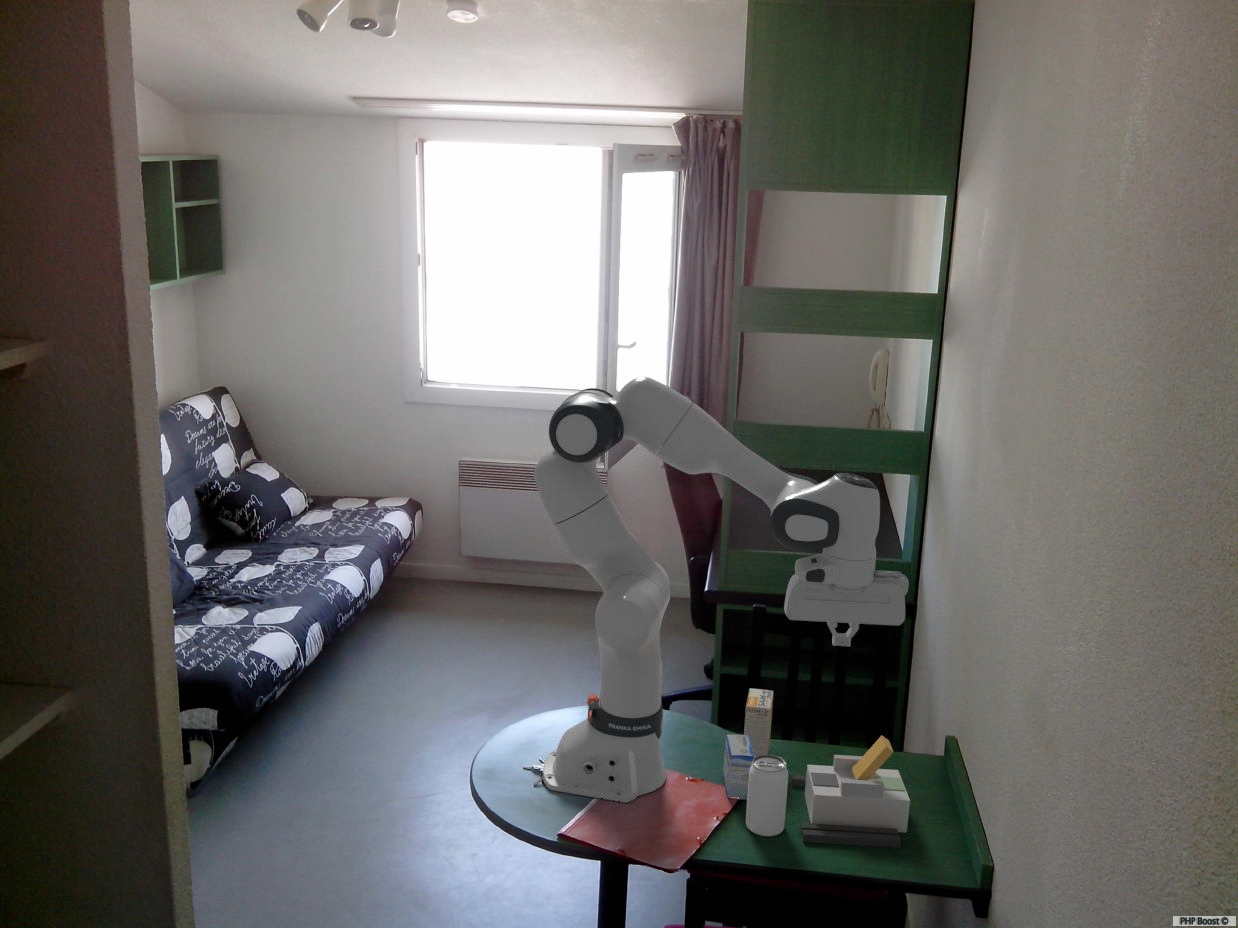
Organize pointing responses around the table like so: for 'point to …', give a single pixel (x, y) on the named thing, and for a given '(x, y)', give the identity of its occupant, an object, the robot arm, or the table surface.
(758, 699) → the supplement box
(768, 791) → the can
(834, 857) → the table surface
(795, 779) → the dark grey long bar
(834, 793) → the white slotted housing
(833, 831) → the dark grey flat bar
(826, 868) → the table surface
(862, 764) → the lever
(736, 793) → the medicine box
